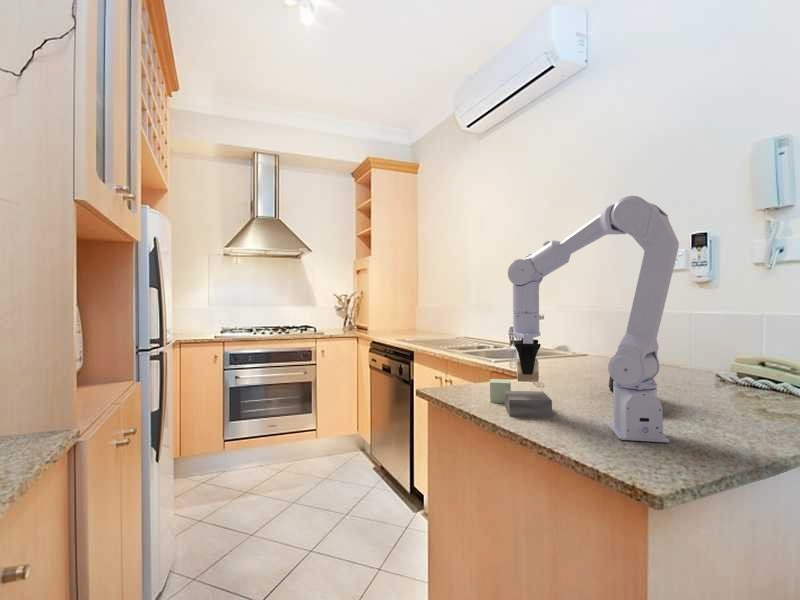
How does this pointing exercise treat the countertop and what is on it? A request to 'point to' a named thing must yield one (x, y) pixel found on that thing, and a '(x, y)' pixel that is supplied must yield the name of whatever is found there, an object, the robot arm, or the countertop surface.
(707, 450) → the countertop surface
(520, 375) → the birch cube
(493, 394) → the sage cube
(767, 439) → the countertop surface
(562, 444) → the countertop surface
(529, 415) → the charcoal slab
